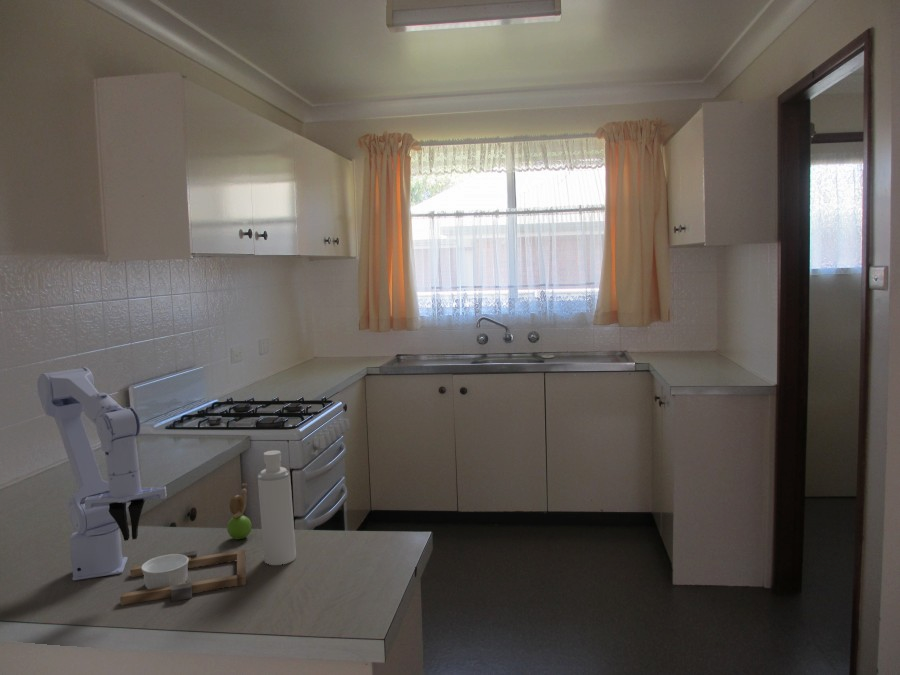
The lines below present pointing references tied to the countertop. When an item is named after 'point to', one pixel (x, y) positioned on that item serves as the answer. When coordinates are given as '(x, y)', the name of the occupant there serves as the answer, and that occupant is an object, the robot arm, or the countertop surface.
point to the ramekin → (165, 570)
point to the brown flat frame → (188, 589)
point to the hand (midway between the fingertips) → (131, 538)
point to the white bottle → (276, 511)
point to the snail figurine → (239, 517)
